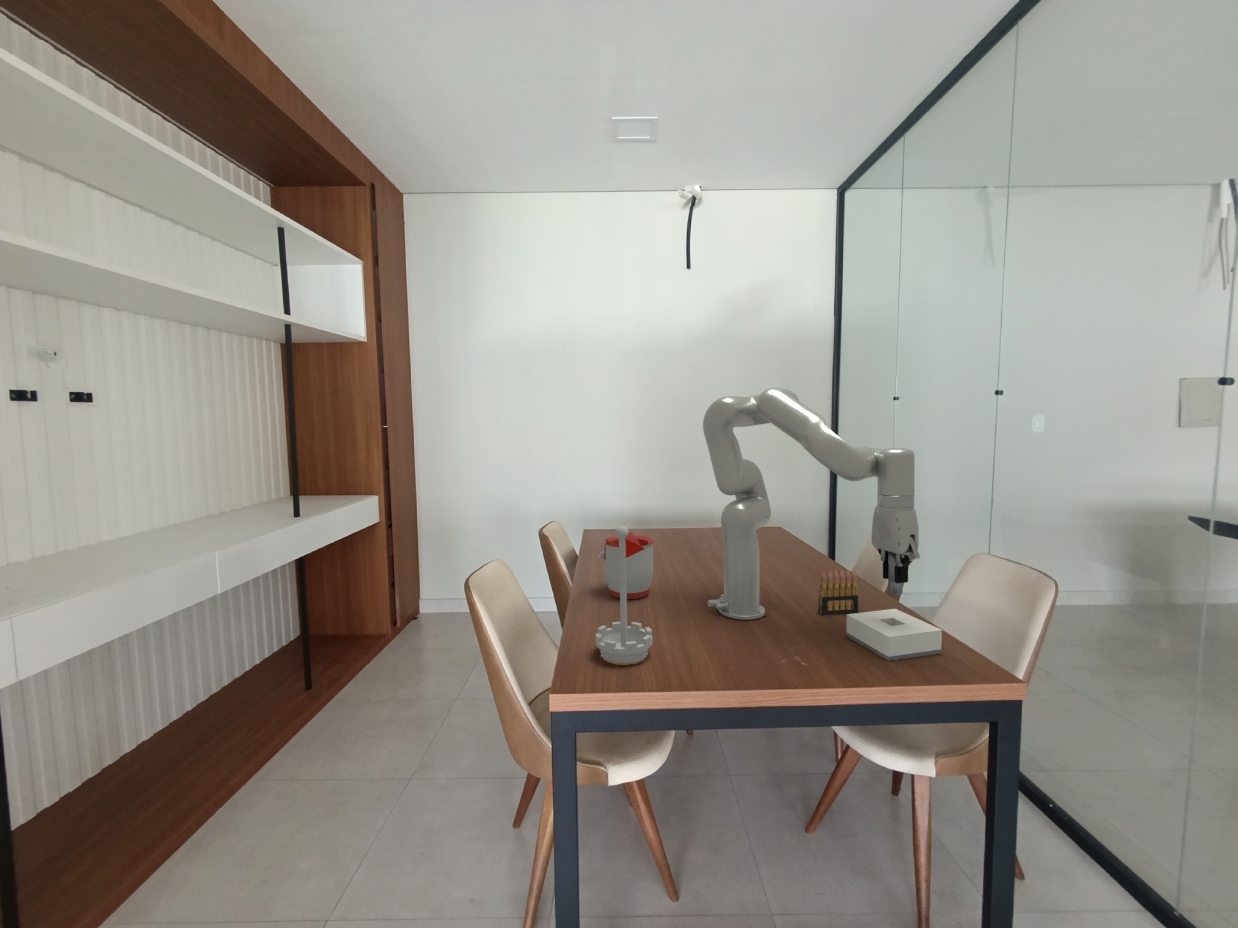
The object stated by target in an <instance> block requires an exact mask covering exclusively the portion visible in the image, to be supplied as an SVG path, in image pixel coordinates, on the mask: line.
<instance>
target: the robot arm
mask: <svg viewBox="0 0 1238 928" xmlns="http://www.w3.org/2000/svg"><path fill="white" fill-rule="evenodd" d="M765 424H772V425H773V426H775V427H776V428H777V429H779V430H780V431H782V432H783V433H785V434H786V435H788V437H790V438H792V439H793V440H794V441H796V442H797V443H799V445H801V446H802V448H803V449H804V450H805V451H806V452H807V453H809V455H811V456H812V457H813V458H814V459H815V460H816V461H818V462H819V463H820V464H821V465H823V466H824V467H826V468H827V469H828V470H830V471H831V472H833V473H834V474H836V475H837V476H838V477H840V478H841V479H843V480H846V481H849V482H860V481H863V480H865V479H869V478H877V497H876V498H877V500H876V502H877V503H876V504H877V505H876V506H875V507H874V510H873V511H874V512H873V515H872V524H871V544H872V546H873V548H875V550H877V552H878V553H879V556H880V561H881V562H882V579H885V580H888V552H892V553H895V554H896V562H897V566H895V567H894V581H895V583H903V584H905V583H908V582H909V566H911V563H913V561H916V560H919V559H920V557H921V556H920V553H919V551H918V550H919V543H920V542H919V540H920V539H919V537H920V536H919V535H920V534H919V525H918V524H919V523H918V516H917V511H916V509H915V458H916V457H915V453H914V451H913V450H912V449H909V448H905V447H904V448H901V447H900V448H899V447H898V448H895V447H894V448H883V449H882V448H880V449H879V448H872V447H867V446H866V447H863V446H861V447H856V446H854V445H853V444H851V443H850V442H848V441H846V440H845V439H843V438H842V437H840V436H839V435H838V434H837V433H835V432H834V431H833V430H832V429H831V428H830V427H829V426H828V424H827V422H826V419H825V418H824V417H823V415H821V414H820V413H818V412H816V411H815V410H813V409H812V408H810V407H809V406H808V405H806V404H804V403H803V402H801V401H800V399H799V397H798V396H797V394H796V393H795V392H793V391H792V390H791V389H787V388H779V387H771V388H767V389H765V390H763V391H762V392H761V393H760V394H756V395H751V396H749V395H748V396H740V395H739V396H737V395H727V396H722V397H720V398H718V399H716V400H715V401H713V402H712V403H711V404H710V405H709V406H708V408H707V409H706V411H705V414H704V416H703V420H702V430H703V435H704V439H705V442H706V445H707V449H708V452H709V457H710V462H711V465H712V470H713V473H714V478H715V482H716V486H717V488H718V490H719V491H720V492H721V493H722V494H724V495H726V496H735V497H734V498H735V500H732V501H730V503H728V504H727V505H725V507H724V508H723V510H722V513H721V516H720V524H721V531H722V536H723V538H722V539H723V560H724V561H723V579H724V580H723V587H724V589H723V593H724V594H723V593H721V594H720V597H718V598H717V599H708V600H707V606H708V608H714V607H715V608H716V610H718V612H719V613H720V615H722V616H724V617H727V618H729V619H735V620H740V621H741V620H743V621H746V620H747V621H748V620H749V621H751V620H757V619H760V618H762V617H763V616H765V614H766V609H765V606H763V605H762V604H760V543H759V539H758V535H757V533H758V532H757V530H759V529H760V528H762V527H764V526H766V525H767V524H768V522H769V521H770V518H771V515H772V514H771V513H772V510H771V508H772V507H771V503H770V501H769V497H768V492H767V489H766V485H765V481H764V477H763V473H762V472H761V469H760V468H759V466H758V465H757V464H756V463H755V462H753V461H752V460H750V459H744V457H743V455H742V451H741V447H740V446H741V445H740V443H739V440H738V438H737V437H736V435H735V433H734V428H744V427H745V428H746V427H752V426H753V427H754V426H758V425H765ZM902 555H903V558H902Z"/></svg>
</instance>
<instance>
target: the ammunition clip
mask: <svg viewBox="0 0 1238 928" xmlns="http://www.w3.org/2000/svg"><path fill="white" fill-rule="evenodd" d="M826 577H827V578H826ZM857 582H858V581H857V571H856V570H855V569H853V571H852V574H851V573H850V570H849V569H847V571H846V574H845V573H844V570H841V571H840V574H838V571H837V570H835V572H834V575H833V576H832V571H830V570H828V574H827V576H826V572H825V571H824V570H823V571H822V573H821V578H820V586H819V590H820V591H819V596H818V614H819V615H821V616H832V615H833V616H836V615H838V616H839V615H847V614H855V613H860V612H859V595H858V583H857Z"/></svg>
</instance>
